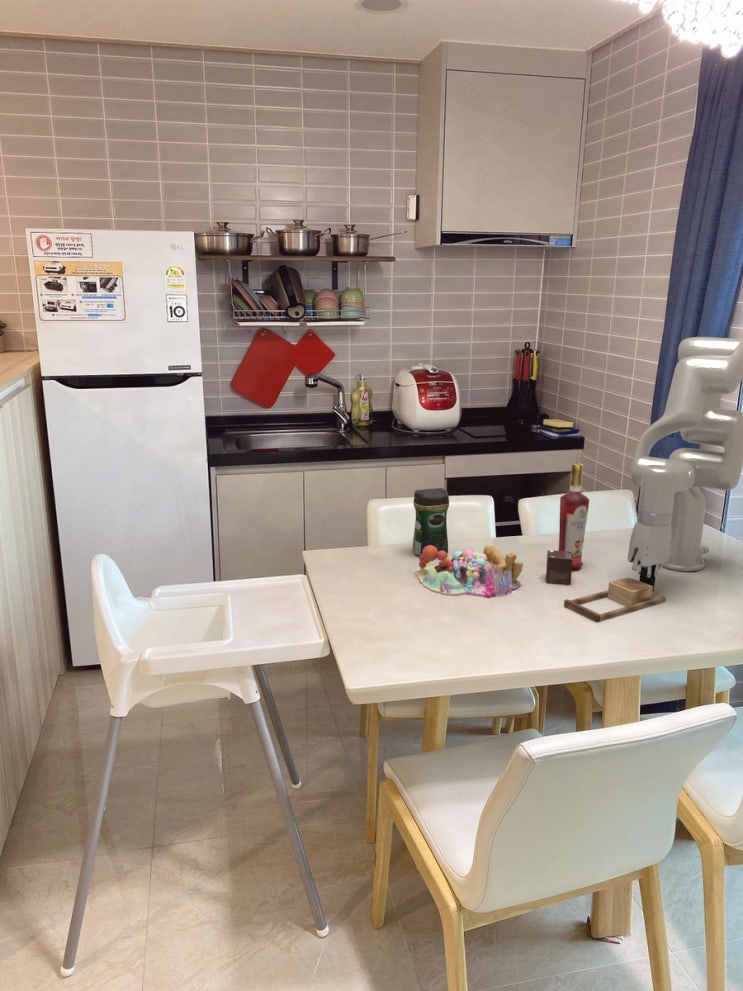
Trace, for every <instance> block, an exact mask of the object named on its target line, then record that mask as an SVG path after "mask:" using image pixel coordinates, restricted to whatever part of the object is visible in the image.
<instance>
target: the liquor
mask: <svg viewBox="0 0 743 991" xmlns="http://www.w3.org/2000/svg"><path fill="white" fill-rule="evenodd" d="M583 469H584V464H583V463H576V462H575V463H572V464H571V475H572V477H571V480H570V487H569V492H566V493H565V494H563V495H562V496H560V498H559V499H560V500H559V501H560V502H559V531H558V532H559V535H558V536H559V537H558V551H570V552H572V558H573V561H572V571H575V570H578V569H579V568H581V567H582V566H583V565H584V563H583V561H582V559H583V548H584V541H585V533H586V528H587V527H586V526H587V523H588V522H587V520H588V513H589V507H590V506H589V505H590V498H588V497H587V495H585V494H583V493H582V474H583V471H584V470H583Z"/></svg>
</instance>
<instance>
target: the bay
mask: <svg viewBox="0 0 743 991" xmlns="http://www.w3.org/2000/svg"><path fill="white" fill-rule="evenodd" d="M607 597H608V589H607V590H603V591H600V592H596V593H592V594H589V595H585V596H581V597H577V598H574V599H571V600H570V599H564V600H563V608H565V609H568V610H570V611H572V612H574V613H576V614H579V615H580V616H582V617H584V618H587V619H589V620H591V621H593V622H595V623H600V622H603V621H606V620H610V619H613V618H616V617H620V616H624V615H626V614H630V613H633V612H637V611H640V610H643V609H646V608H647V609H648V608H650V607H654V606H657V605H659V604H663V603H666V600H667V597H666V596H664V595H661V596H657V597H655V598H652V599H650V600H647V601H644V602H640V603H637V604H633V605H630V606H623V607H619V608H617V609H613V610H611V611H607V612H604V613H598V612H596V611H594V610H592V609H589V608H588V607H585V606H583V605H584V604H588V603H591V602H594V601H598V600H602V599H605V598H607Z"/></svg>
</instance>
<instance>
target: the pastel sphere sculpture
mask: <svg viewBox="0 0 743 991" xmlns="http://www.w3.org/2000/svg"><path fill="white" fill-rule="evenodd" d="M436 560H438V561H439V562H438V564H436V565H435V564H434V565H432V566H427V564H429V563H430V562H433V561H436ZM516 560H517V554H516V553H515V552H514V553H513V552H509V553H505V557H504V556H503V554H502V553H501V552H500V551H499V550H498V549H497V548H495V547H494V545H485V546H484V548H483V552H479V551H477V550H474V549H473V548H470V549H466V550H465V549H464V551H461V550H457V551H455V552H454V553H453V555H452V558H451V559H449V558H448V553H446V552H445V551H439V552H438V550H437V548H436V547H435V546H432V545H428V546H426V547H425V548H424V549H423V551H422V555H421V556H419V564H418V566H419V567H420V570H418V572H417V576H416V577H417V579H418V581H419V583H420V584H421V585H422V586H423V587H424V588H426V589H427V590H429V591H430V592H433V593H437V594H440V595H443V596H448V597H449V596H451V597H459V596H464V595H469V596H470V595H471V596H475V597H481V598H491V597H493V596H495V598H496V597H497V596H501V597H503V596H504V595H506V596H508V593H510V594H512V590H514V589H517V588H519V587H521V584H522V582H521V581H520V580H518V578H519V577H520V575H521V572H522V571H523V565H524V562H523V563H522V562H519V561H516Z"/></svg>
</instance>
